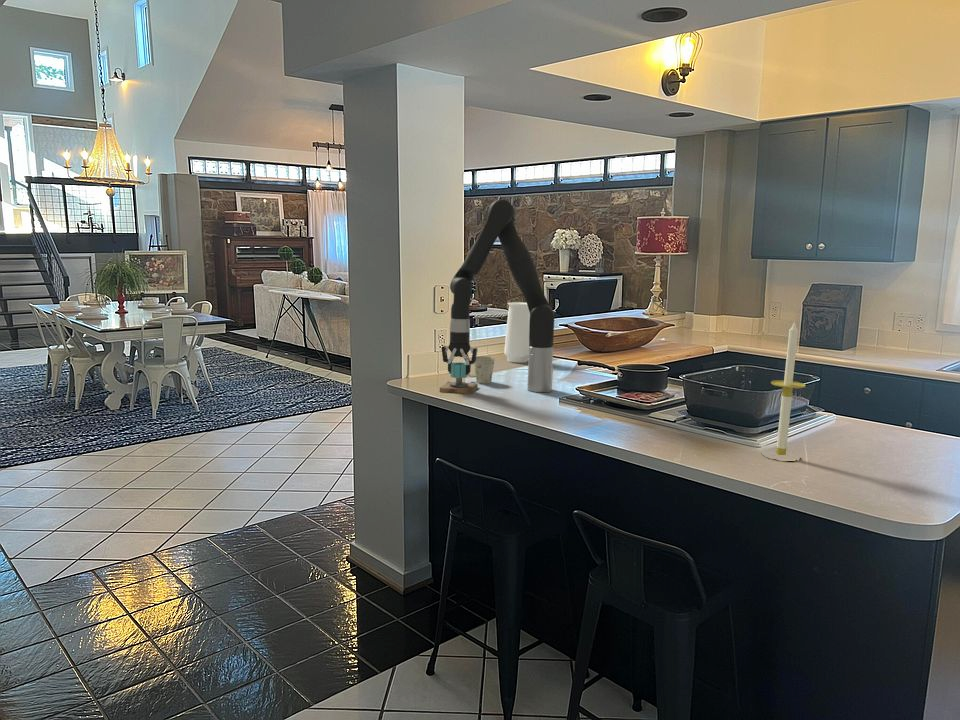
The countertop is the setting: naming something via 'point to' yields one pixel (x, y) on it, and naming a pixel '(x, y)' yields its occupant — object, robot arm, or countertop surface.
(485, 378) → the mug
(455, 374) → the collar
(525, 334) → the vase
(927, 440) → the countertop surface
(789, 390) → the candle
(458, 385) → the post block
